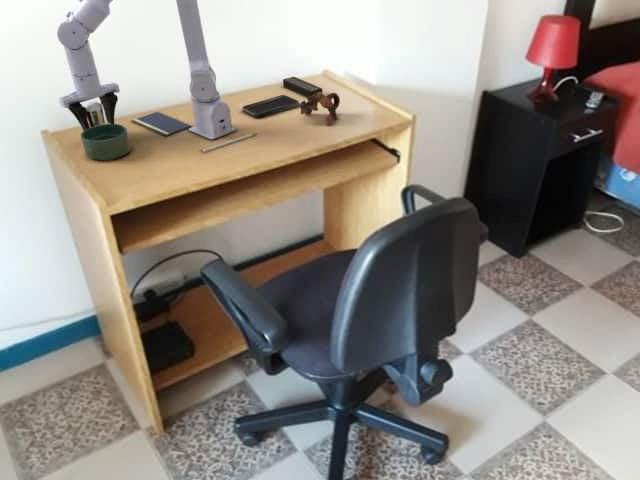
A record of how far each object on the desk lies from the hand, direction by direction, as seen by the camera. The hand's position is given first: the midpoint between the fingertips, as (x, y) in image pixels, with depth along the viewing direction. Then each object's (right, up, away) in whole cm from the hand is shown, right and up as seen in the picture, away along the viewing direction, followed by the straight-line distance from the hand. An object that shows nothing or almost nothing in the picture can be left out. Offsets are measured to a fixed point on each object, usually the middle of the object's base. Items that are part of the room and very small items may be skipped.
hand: (99, 127), depth 146 cm
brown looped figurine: (+55, +5, +13) cm, 57 cm away
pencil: (+33, -4, 0) cm, 33 cm away
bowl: (+5, -7, -5) cm, 10 cm away
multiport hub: (+48, +18, +31) cm, 60 cm away
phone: (+41, +10, +19) cm, 46 cm away
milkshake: (0, -3, +2) cm, 3 cm away
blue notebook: (+13, +3, +9) cm, 16 cm away
